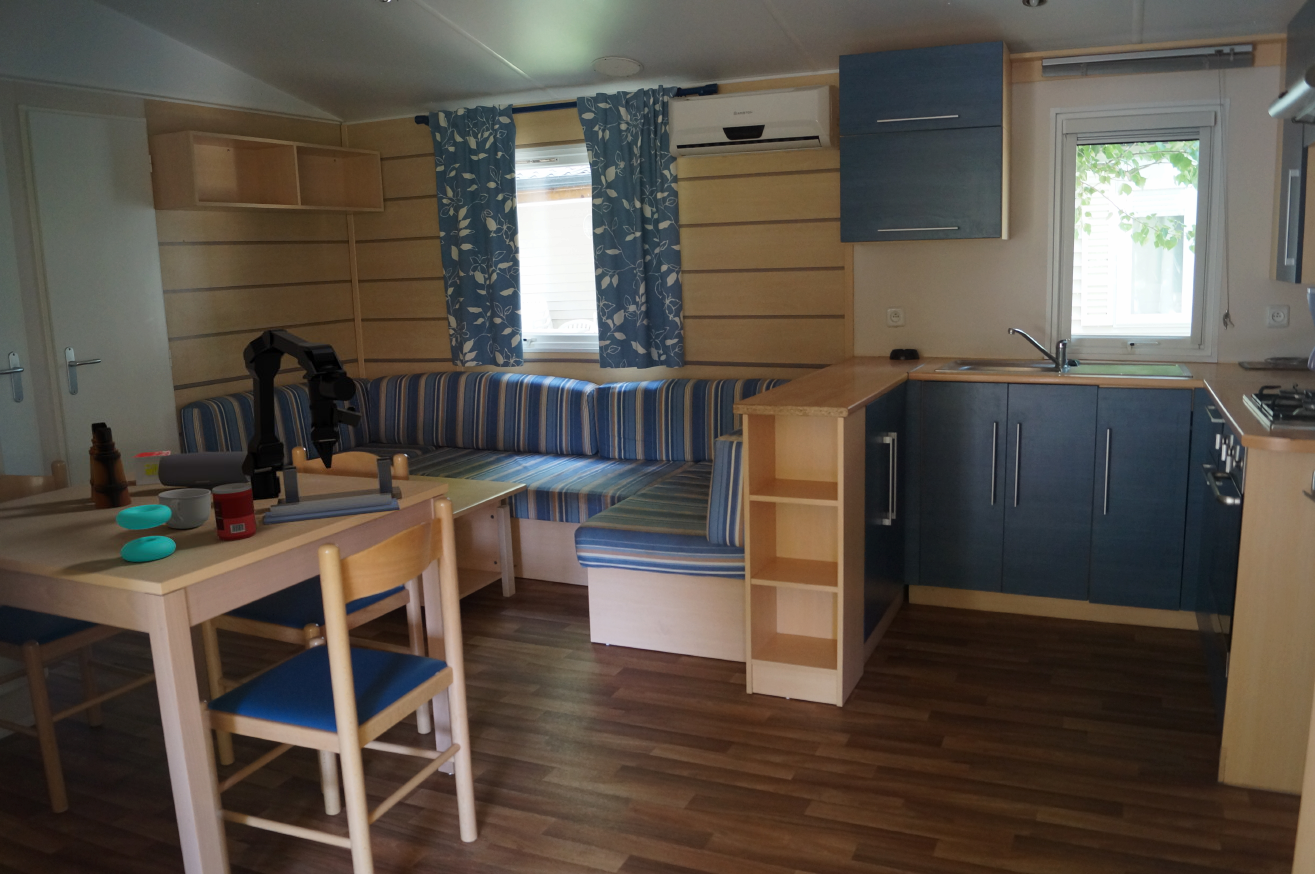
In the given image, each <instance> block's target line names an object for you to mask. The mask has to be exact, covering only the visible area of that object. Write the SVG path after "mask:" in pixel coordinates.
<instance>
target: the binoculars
mask: <svg viewBox="0 0 1315 874" xmlns="http://www.w3.org/2000/svg"><path fill="white" fill-rule="evenodd" d="M91 434H92V435H91V436H92V438H91V441H90V442H91V443H92V446H90V447H89V449H88V454H89V469H90V478H89V484H90V502H92V503H94V508H95V509H97V510H110V509H117V508H122V507H126V506H129V505H132V499H131V495H130V492H129V488H128V486H129V483H128V481H127V479H126V475H125V470H124V466H123V462H122V458H121V457H122V454H121V451H119V449H117V447H116V446H115V445H116V442H115V441H114V439H113V432H112V428H111V427H108V425H107V423H106V422H104V421H103V422H101V421H100V422H95V423H91Z"/></svg>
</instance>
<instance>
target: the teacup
mask: <svg viewBox="0 0 1315 874" xmlns="http://www.w3.org/2000/svg"><path fill="white" fill-rule="evenodd" d="M211 494H212V490H207V489H189V488H180V489H179V488H178V489H172V490H167V491H163V492H160V493H158V495H157V498H158V505H165V506H167V507H169V508H170V510H171V517H170V519H169V520H168V521H167V522H165V523H164V524H166V525H167V526H168V527H170V528H171V529H178V530H181V529H192V528H198V527H200V526H202V525H204V523H205V522H206V521H208V520H209V518H210V516H211V511H212V508H211V507H212V503H211V502H212V500H211V499H212V497H211Z"/></svg>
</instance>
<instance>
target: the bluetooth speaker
mask: <svg viewBox="0 0 1315 874" xmlns="http://www.w3.org/2000/svg"><path fill="white" fill-rule="evenodd" d="M247 453H248V451H227V450H226V451H200V452H184V453H176V454H174V453H173V454H171V455H167V456H163V457H161V459H160V461H159V468H158V477H159V480H160V482H161V483H160V484H161V485H162V486H164V487H175V488H177V487H178V488H179V487H180V488H181V487H182V488H188V489H207V490H210V491H212V489H213V488H215V487H217V486H221V485H226V484H233V483H249V484H250V483H251V480H250V476H248V475H244V474H243V471H242V464H243V462H244V460H245V458H246V455H247Z"/></svg>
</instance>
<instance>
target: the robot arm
mask: <svg viewBox="0 0 1315 874" xmlns="http://www.w3.org/2000/svg"><path fill="white" fill-rule="evenodd" d="M286 354H287V355H288V356H291V357H292V358H294V359H296V360H297V365H298V366H299V367H301V369H303V370H305V371H306V372H305V373H304V374H303V376H302V380H306V385H307V393H308V402H309V404H308V406H309V413H310V427H311V428H310V429H311V430H310V431H309V432H310V440H311V443H312V445H313V446H314V449H315V450H316V453H317V454H318V456H319V458H320V459H321V461H322V463H323V465H324V467H325V469H327V470H328V469H329V470H330V469H332V464H333V463H332V462H333V453H334V447H335V446H336V444H337V443H338V442H339V441H340V439H341V435H340V427H339V425H340V424H342V425H346V426H350V427H352V428H355V429H359V428H360V424H361V421H362V418H363V414H362V413H360V412H357V409H356V407H355V406H353V405H348V406H347V407H346V408H341V407H338V404H337V402H338V401H339V402H348V401H351V400H352V399H353V398H354V397H355V395H356V392H357V385H356V383H355V381H354V380H353V378H351V377H350V376H348V374H347V373H348V371H347V370H345V368H344V363H342V361H341V359H340V357H339V356H338V354H337V351H336V350H335V349H334V347H333V346H332V345H331V344H329V343H324V342H311V341H308V340H305V339H303V338H302V337H300V336H297V335H295V334H293V333H290V332H288V330H287V329H284V328H272V329H266V330H264V331H263V332H262V334H261V335H260V336H258V337H255V339H252V340H250V342H249V343H248V344H247V345H246V347H244V349H243V352H242V356H243V357H242V358H243V360H244V365H245V369H246V370H247V372H248V373H249V375H250V376H251V378H252V394H253V396H252V397H253V423H254V424H253V426H254V429H253V431H254V434H253V436H252V437H251V438H250V440H249V442H248V443H247V444H248V445H247V452H248V453H247V455H246V458H245V460H244V462H243V464H242V471H243V474H244V475H248V476H250V480H251V482H250V484H251V487H252V494H253V500H260V499H269V498H277V497H280V494H281V493H282V486H281V485H282V484H281V477H280V475H278V472H283V467H285V465H284V463H285V453H284V452H285V451H284V450H285V449H284V448H285V444H284V442H283V441H281V440H280V439H279V437H278V436H277V435H276V410H275V409H276V408H275V406H276V405H275V401H276V400H275V378H276V376H277V375H278V373H279V372H280V370H281V367H282V359H283V357H285V355H286ZM336 401H337V402H336Z"/></svg>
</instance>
